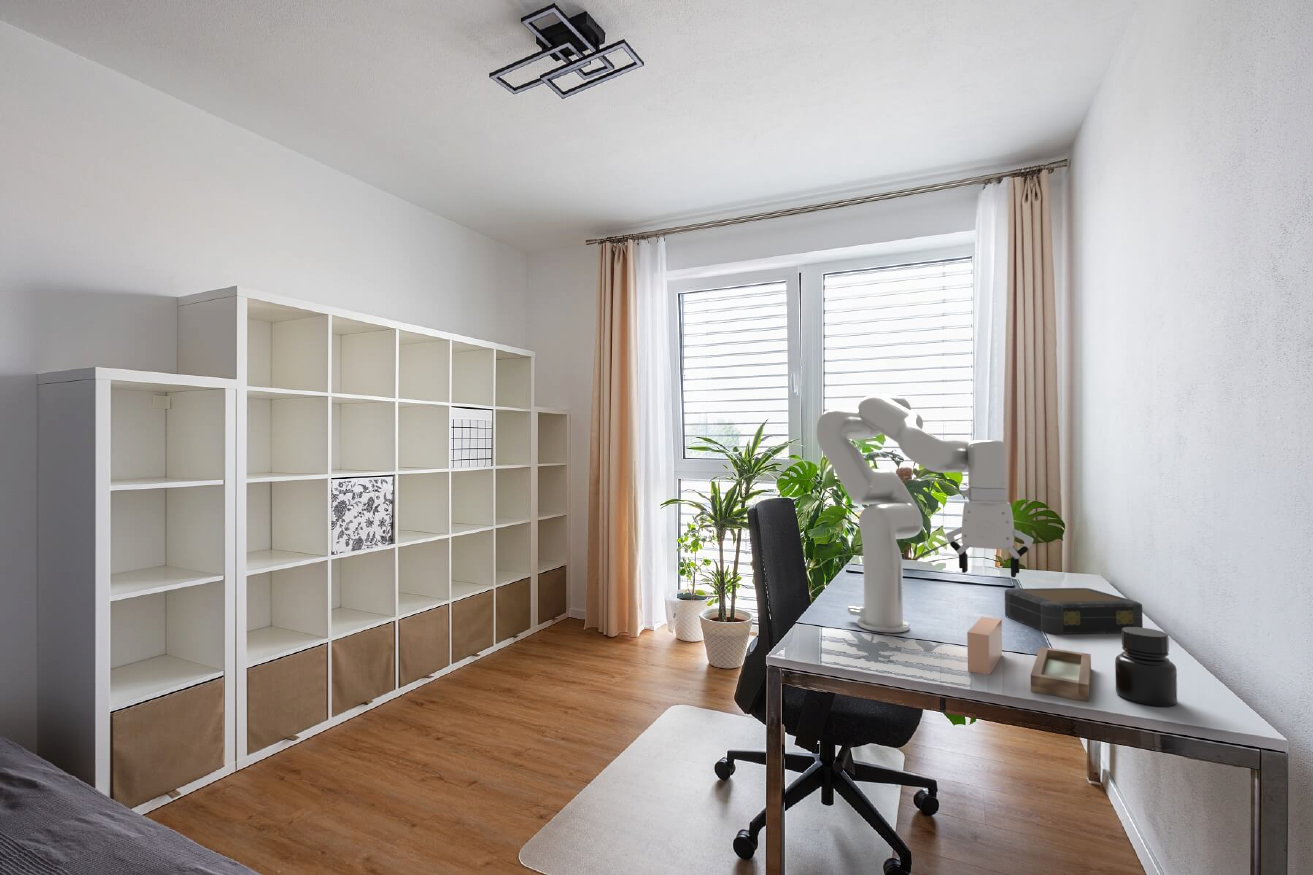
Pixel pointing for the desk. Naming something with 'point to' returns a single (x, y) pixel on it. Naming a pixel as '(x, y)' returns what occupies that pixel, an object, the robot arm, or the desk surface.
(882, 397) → the robot arm
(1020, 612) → the cash box
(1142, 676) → the ink bottle
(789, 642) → the desk surface
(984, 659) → the pink rectangular block
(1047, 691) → the tray
